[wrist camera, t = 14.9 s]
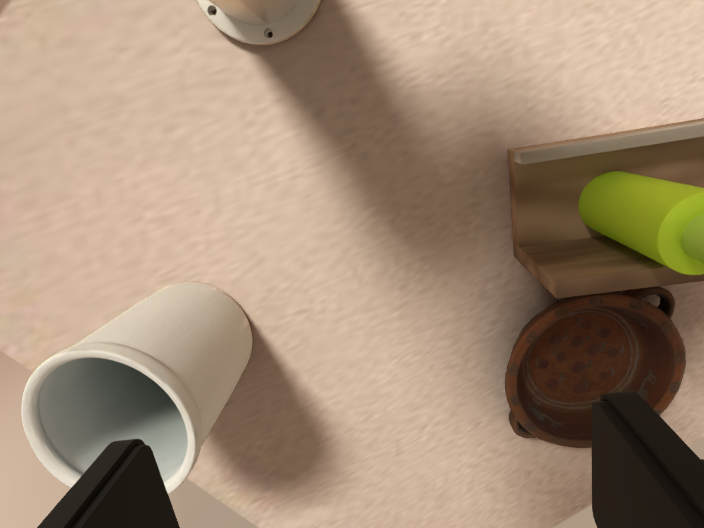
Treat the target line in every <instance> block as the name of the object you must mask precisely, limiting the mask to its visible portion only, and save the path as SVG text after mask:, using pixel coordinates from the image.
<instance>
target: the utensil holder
mask: <svg viewBox="0 0 704 528" xmlns="http://www.w3.org/2000/svg"><path fill="white" fill-rule="evenodd" d="M252 345H253V340H252V331H251V327H250V324H249V322H248V319H247V317H246V315H245V313H244V312H243V310H242V309H241V308H240V306H239V305H238V304H237V303H236V302H235V301H234V300H233V299H232V298H231V297H230V296H228V295H227V294H225V293H224V292H222V291H221V290H219V289H217V288H215V287H212V286H210V285H207V284H203V283H198V282H181V283H176V284H172V285H169V286H166V287H164V288H162V289H160V290H158V291H157V292H155V293H153V294H152V295H150V296H149V297H147V298H145V299H144V300H142V301H140V302H139V303H137V304H135V305H134V306H132V307H131V308H129V309H128V310H126V311H125V312H123V313H122V314H120V315H119V316H118V317H116V318H115V319H113V320H112V321H110V322H108V323H107V324H105V325H104V326H102V327H101V328H99V329H98V330H96V331H95V332H93V333H92V334H90V335H89V336H87V337H86V338H84V339H83V340H81V341H80V342H78V343H77V344H75V345H74V346H71V347H69V348H66V349H64V350H62V351H60V352H58V353H56V354H55V355H53V356H51V357H50V358H49V359H47V360H46V361H44V362H43V363H42V364H41V365H40V366H39V367H38V368H37V369H36V370H35V371H34V372H33V374H32V375H31V377H30V378H29V380H28V382H27V384H26V387H25V389H24V392H23V397H22V408H21V409H22V410H21V411H22V413H21V415H22V422H23V427H24V431H25V434H26V436H27V439H28V441H29V443H30V445H31V447H32V449H33V451H34V452H35V454H36V455H37V457H38V458H39V460H40V461H41V462H42V464H43V465H44V466H45V467H46V469H47V470H48V471H49V472H50V473H51V474H53V475H54V476H55V477H56V478H57V479H58V480H60V481H61V482H63V483H64V484H66V485H67V486H69V487H70V488H72V486H73V485H74V484H75V483H76V482H77V481H78V479H79V478H80V477H81V476H82V475H83V474H84V472H85V471H86V470H87V469H88V468H89V467H90V465H91V464H92V463H93V462H94V461H95V460H96V459H97V457H98V456H99V455H100V454H101V453H102V452H103V450H104V449H105V448H106V447H107V446H108V445H109V444H110V443H111V442H114V441H119V440H130V439H141V440H142V441H143V442H144V443H145V445H149V446H150V447H151V449H152V451H153V454H154V457H155V460H156V462H157V465H158V468H159V471H160V474H161V476H162V479H163V482H164V485H165V488H166V491H167V493H168V494H169V493H171V492H172V491H174V490H175V489H176V488H178V487H179V486H180V485H181V484H182V483H183V482H184V480H185V479H186V478H187V476H188V475H189V473H190V472H191V470H192V469H193V467H194V465H195V463H196V461H197V458H198V456H199V453H200V449H201V446H202V444H203V442H204V441H205V439H206V437H207V436H208V434H209V432H210V431H211V429H212V427H213V425H214V424H215V422H216V420H217V419H218V417H219V415H220V413H221V412H222V410H223V408H224V406H225V404H226V403H227V401H228V399H229V397H230V396H231V394H232V392H233V390H234V388H235V386H236V385H237V383H238V381H239V379H240V377H241V375H242V373H243V371H244V369H245V367H246V366H247V364H248V361H249V359H250V356H251V352H252Z"/></svg>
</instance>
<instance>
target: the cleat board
mask: <svg viewBox="0 0 704 528" xmlns="http://www.w3.org/2000/svg"><path fill="white" fill-rule="evenodd" d="M508 161H509V178H510V195H511V211H512V228H513V245H514V256H515V257H516V258H517V259H518V260H519V261H520V262H521V263H522V264H523V265H524V266H525V267H526V268H527V269H528V270H529V271H530V272H531V273H532V274H533V275H534V276H535V277H536V278H537V279H538V280H539V281H540V282H541V284H542V285H543V286H544V287H545V288H546V289H547V290H548V291H549V292H550V293H551V294H552V295H553V296H554V297H555V298H556V299H557V298H565V297H573V296H582V295H590V294H598V293H606V292H614V291H623V290H631V289H639V288H647V287H656V286H664V285H672V284H680V283H688V282H697V281H704V274H702V275H687V274H683V273H679V272H677V271H675V270H673V269H671V268H669V267H667V266H665V265H663V264H661V263H659V262H657V261H655V260H653V259H651V258H649V257H647V256H645V255H643V254H641V253H639V252H637V251H635V250H633V249H631V248H629V247H627V246H625V245H623V244H621V243H619V242H617V241H615V240H613V239H611V238H609V237H607V236H605V235H603V234H601V233H599V232H597V231H595V230H593V229H591V228H590V227H588V226H587V225H586V224H585V223H584V222H583V220H582V218H581V216H580V213H579V199H580V196H581V193H582V191H583V189H584V188H585V187H586V185H587V184H588V183H589V182H590V181H591V180H592V179H594V178H595V177H597V176H598V175H601V174H603V173H606V172H610V171H621V172H626V173H631V174H636V175H641V176H646V177H651V178H656V179H661V180H666V181H671V182H676V183H681V184H686V185H691V186H696V187H701V188H704V118H703V119H697V120H691V121H685V122H679V123H672V124H666V125H660V126H654V127H647V128H641V129H635V130H629V131H622V132H616V133H610V134H604V135H597V136H591V137H585V138H579V139H573V140H566V141H560V142H554V143H548V144H541V145H535V146H529V147H523V148H516V149H510V150H508Z"/></svg>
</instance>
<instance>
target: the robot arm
mask: <svg viewBox="0 0 704 528" xmlns="http://www.w3.org/2000/svg"><path fill="white" fill-rule="evenodd" d="M196 1H197V3H198V5H199V7H200V9H201V10H202V11H203V13H204V14H205V16H206V17H207V18H208V20H209V21H210V22H211V23H213V24H214V25H215V26H216V27H217V28H218V29H219V30H220V31H222V32H223V33H225V34H226V35H228V36H230V37H232V38H234V39H236V40H238V41H240V42H244V43H247V44H251V45H263V46H264V45H271V44H277V43H279V42H282V41H285V40H287V39H289V38H291V37H292V36H294V35H295V34H297V33H299V32H300V31H301V30H302V29H303V28H304V27H305V26H306V25H307V24H308V23H309V21H310V20H311V18H312V17H313V16H314V14H315V13H316V11H317V9H318V7H319V4H320V2H321V0H196ZM214 10H217V13H216V15H214V14H213V12H214ZM270 32H272V33H273V36H272V37H271V38H269V33H270ZM591 411H592V510H593V516H594V519H595V523H596V525H597V528H704V460H703V459H702V460H700V458H699V457H698V456H697V455H696V454H695V453H694V452H693V451H692V450H691V449H690V448H689V447H688V446H687V445H686V444H685V443H684V442H683V440H682V439H681V438H680V437H679V436H678V435H677V434H676V433H675V432H674V431H673V430H672V429H671V428H670V427H669V426H668V425H667V424H666V422H665V421H664V420H663V419H662V418H661V417H660V416H659V415H658V414H657V413H656V412H655V411H654V410H653V409H652V408H651V407H650V406H649V404H648V403H647V402H646V401H645V400H644V399H643V398H642V397H641V396H640V395H639V394H638V393H637V392H635V391H625V392H614V393H604V394H602V395H601V397H600V402H594V403H593V404H592V409H591ZM37 528H180V527H179V525H178V521H177V519H176V516H175V513H174V510H173V508H172V505H171V502H170V499H169V496H168V493H167V491H166V488H165V485H164V482H163V479H162V476H161V474H160V471H159V468H158V465H157V462H156V460H155V457H154V454H153V451H152V449H151V447H150V446H149V445H145V443H144V442H143V441H142V440H141V439H130V440H119V441H114V442H111V443H110V444H109V445H108V446H107V447H106V448H105V449H104V450H103V452H102V453H101V454H100V455H99V456H98V457H97V459H96V460H95V461H94V462H93V463H92V464H91V465H90V467H89V468H88V469H87V470H86V471H85V472H84V474H83V475H82V476H81V477H80V478H79V479H78V481H77V482H76V483H75V484H74V485H73V486H72V488H71V489H70V490H69V491H68V492H67V493H66V495H65V496H64V497H63V498H62V499H61V501H60V502H59V503H58V504H57V505H56V506H55V508H54V509H53V510H52V511H51V512H50V513H49V514H48V516H47V517H46V518H45V519H44V520H43V521H42V523H41V524H40V525H39V526H38V527H37Z"/></svg>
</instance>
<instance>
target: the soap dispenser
mask: <svg viewBox="0 0 704 528" xmlns="http://www.w3.org/2000/svg"><path fill="white" fill-rule="evenodd" d="M579 213H580V216H581V218H582V220H583V222H584V223H585V224H586V225H587V226H588V227H590V228H591V229H593V230H595V231H597V232H599V233H601V234H603V235H605V236H607V237H609V238H611V239H613V240H615V241H617V242H619V243H621V244H623V245H625V246H627V247H629V248H631V249H633V250H635V251H637V252H639V253H641V254H643V255H645V256H647V257H649V258H651V259H653V260H655V261H657V262H659V263H661V264H663V265H665V266H667V267H669V268H671V269H673V270H675V271H677V272H679V273H683V274H687V275H702V274H704V188H701V187H696V186H691V185H686V184H681V183H676V182H671V181H666V180H661V179H656V178H651V177H646V176H641V175H636V174H631V173H626V172H621V171H610V172H606V173H603V174H601V175H598V176H597V177H595V178H594V179H592V180H591V181H590V182H589V183H588V184H587V185H586V187H585V188H584V189H583V191H582V193H581V196H580V199H579Z"/></svg>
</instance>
